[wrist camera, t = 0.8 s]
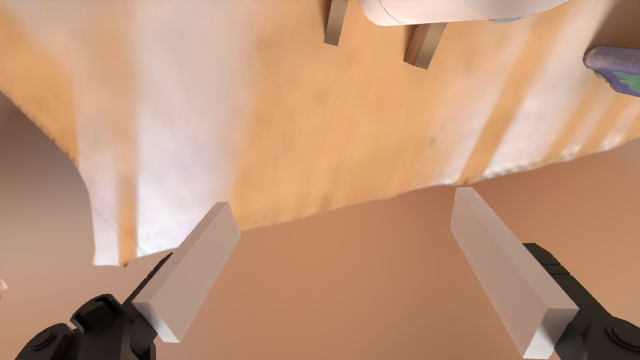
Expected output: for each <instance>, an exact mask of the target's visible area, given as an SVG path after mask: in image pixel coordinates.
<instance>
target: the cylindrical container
mask: <svg viewBox="0 0 640 360" xmlns="http://www.w3.org/2000/svg"><path fill="white" fill-rule="evenodd" d="M566 1H568V0H360V5H361V8H362V10H363V12H364V14H365V15H366V17H367V18H368V19H369V20H370V21H372V22H373V23H375V24H377V25H382V26H388V25H407V24H423V23H439V22H454V21H470V20H485V19H501V18H516V17H525V16H529V15H533V14H536V13H540V12H544V11H547V10H549V9H551V8H553V7H555V6H558V5H560V4H562V3H564V2H566Z"/></svg>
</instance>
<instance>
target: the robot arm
mask: <svg viewBox="0 0 640 360" xmlns="http://www.w3.org/2000/svg"><path fill="white" fill-rule="evenodd" d="M450 229H451V231H452V232H453V234H454V236H455V238H456V240H457V241H458V243H459V245H460V247H461V249H462V250H463V252H464V254H465V256H466V257H467V259H468V261H469V263H470V265H471V267H472V268H473V270H474V272H475V274H476V276H477V277H478V279H479V281H480V283H481V285H482V286H483V288H484V290H485V292H486V293H487V295H488V297H489V299H490V301H491V302H492V304H493V306H494V308H495V309H496V311H497V313H498V315H499V317H500V319H501V320H502V322H503V324H504V326H505V328H506V329H507V331H508V333H509V335H510V336H511V338H512V340H513V342H514V344H515V345H516V347H517V349H518V351H519V353H520V354H521V356H522V358H534V359H549V357H550V355H551V353H552V352H553V351H554V350H555V351H556V353H557V354H558V356H559V357H560V359H561V360H640V328H639V327H637V326H635V325H633V324H631V323H630V322H627V321H626V320H622V319H619V318H616V317H613V316H612V315H611V314H610V313H608V312H607V311H606V310H605V309H604V308H603V307H602V306H601V304H600V303H598V302H597V300H596V299H595V298H594V297H592V295H591V294H590V293H589V292H588V291H587V290H586V289H585V288H584V287H583V286H582V285H581V284H580V283H579V282H578V281H577V280H576V279H575V278H574V277H573V276H571V275H570V273H569V272H568V271H567V270H566V269H565V268H564V267H563V266H561V264H560V263H559V262H558V261H557V260H556V259H555V258H554V256H553V255H552V254H551V253H550V252H548V251H547V250H545V249H543V248H542V247H540V246H539V245H537V244H535V243H521V242H520V241H519V240H518V239H517V237H516V236H515V235H514V234H513V233H512V232H511V231H510V229H509V228H508V227H507V226H506V225H505V224H504V223H503V222H502V220H501V219H500V218H499V217H498V216H497V215H496V214H495V212H494V211H493V210H492V209H491V208H490V207H489V206H488V205H487V204H486V202H485V201H484V200H483V199H482V198H481V197H480V196H479V194H478V193H477V192H476V191H475V190H474V189H473V187H466V188H456V195H455V200H454V207H453V214H452V220H451V226H450ZM240 237H241V235H240V232H239V229H238V227H237V224H236V222H235V219H234V217H233V214H232V211H231V209H230V206H229V204H228V202H217V203H216V204H215V205H214V206H213V207H212V208H211V209H210V211H209V212H208V213H207V214H206V215H205V216H204V218H203V219H202V220H201V221H200V222H199V224H198V225H197V226H196V227H195V228H194V229H193V231H192V232H191V233H190V234H189V235H188V236H187V238H186V239H185V240H184V241H183V242H182V243H181V245H180V246H179V247H178V248H177V249H176V250H175V252H171V253H170V254H169V255H167V256H166V257H165V258H163V259H162V260H161V261H160V262H159V263H158V264H157V265H156V267H155V268H154V269H153V271H151V272H150V273H149V274H148V276H147V278H145V279H144V280H143V281H142V283H140V285H139V286H138V287H137V288H136V290H135V291H133V293H132V294H131V295H130V296H129V297H128V298H127V299H126V300H125V302H124V303H123V304H122V305H121V304H120V303H119V302H118V301H117V300H116V299H115V297H114V296H113V295H111V294H103V295H100V296H97V297H95V298H93V299H91V300H89V301H88V302H86V303H85V304H84V305H82V306H81V307H80V308H79V309H78V310H77V311H76V312H75V313H74V314H73V316H72V317H71V319H70V322H72V323H73V324H74V325H75V326H76V327H77V328H76V329H73V330H72V329H71V328H70V327H69V326H68V325H67V324H64V323H59V324H55V325H53V326H51V327H48V328H46V329H45V330H43V331H42V332H40V333H38V334H37V335H36V336H35V337H34V338H32V339H31V340H30V341H29V342H28V343H27V344H26V345H25V347H24V348H23V349H22V350H21V352H20V353H19V354H18V356H17V357H16V359H15V360H156V347H155V344H154V342H153V340H154V339H155V337H156V336H157V334H158V335H159V336H160V337H161V339H162V340H163V341H164V342H180V341H181V339H182V338H183V336H184V334H185V332H186V331H187V329H188V327H189V326H190V324H191V322H192V320H193V319H194V317H195V315H196V313H197V311H198V310H199V308H200V306H201V305H202V303H203V301H204V299H205V298H206V296H207V294H208V292H209V291H210V289H211V287H212V285H213V284H214V282H215V280H216V278H217V277H218V275H219V273H220V271H221V269H222V268H223V266H224V264H225V263H226V261H227V259H228V258H229V256H230V254H231V252H232V250H233V249H234V247H235V245H236V244H237V242H238V240H239V238H240Z"/></svg>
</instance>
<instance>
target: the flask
mask: <svg viewBox="0 0 640 360" xmlns="http://www.w3.org/2000/svg"><path fill="white" fill-rule="evenodd" d="M594 48H595V49H594ZM594 48H592V49H593V50H592V49H590V50H591V51H590V50H589V51H588V52H587V54H586V55H585V56H584V57H583V62H584V65H585V66H586V68H591V69H592V70H593V71H594V72H595V74H596V75H597V76H596V77H599V78H602V79H603V78H604V79H606V82H605V83H609V84H610V86H611V88H612V89H613V90H614V91H615V92H619V93H623V94H629V95H633V96H637V97H640V49H634V48H623V47H609V46H598V47H594Z"/></svg>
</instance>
